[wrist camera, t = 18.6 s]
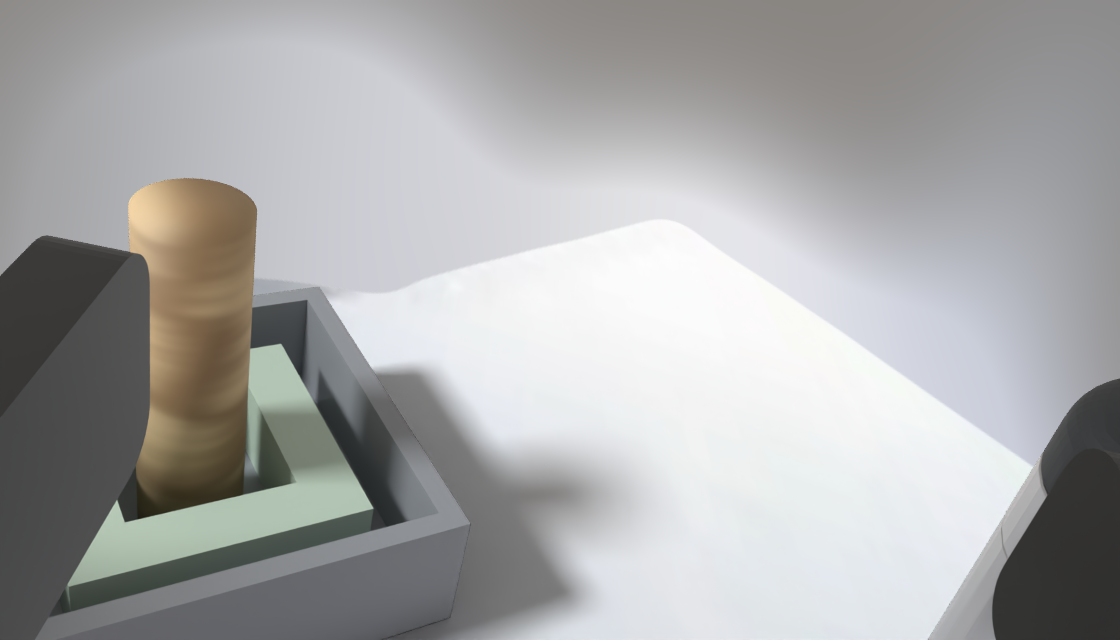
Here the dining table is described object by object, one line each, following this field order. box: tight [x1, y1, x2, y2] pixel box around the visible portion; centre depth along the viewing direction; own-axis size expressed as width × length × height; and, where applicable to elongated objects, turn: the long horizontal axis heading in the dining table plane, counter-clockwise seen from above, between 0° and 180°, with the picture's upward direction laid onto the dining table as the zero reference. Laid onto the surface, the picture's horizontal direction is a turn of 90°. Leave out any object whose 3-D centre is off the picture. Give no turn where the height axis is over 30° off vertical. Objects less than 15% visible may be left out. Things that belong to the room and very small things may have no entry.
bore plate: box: [60, 344, 373, 613], centre depth 47 cm, size 12×12×4 cm
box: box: [35, 287, 471, 640], centre depth 47 cm, size 18×18×6 cm
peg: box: [128, 178, 257, 519], centre depth 43 cm, size 4×4×16 cm
